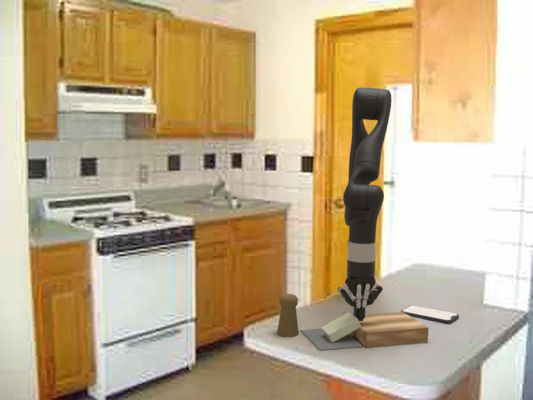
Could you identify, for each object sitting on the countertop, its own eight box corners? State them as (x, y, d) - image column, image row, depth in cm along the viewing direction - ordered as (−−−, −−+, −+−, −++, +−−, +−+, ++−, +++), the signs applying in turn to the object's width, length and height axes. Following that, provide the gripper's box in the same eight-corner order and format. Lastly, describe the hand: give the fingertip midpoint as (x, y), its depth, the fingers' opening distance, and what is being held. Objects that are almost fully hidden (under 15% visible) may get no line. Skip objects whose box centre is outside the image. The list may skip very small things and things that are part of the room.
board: (345, 329, 169) (346, 316, 168) (402, 325, 173) (403, 311, 173) (366, 347, 155) (367, 332, 155) (427, 341, 160) (428, 327, 160)
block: (324, 335, 163) (320, 327, 162) (352, 319, 165) (348, 312, 164) (332, 342, 157) (328, 334, 157) (361, 326, 159) (357, 318, 158)
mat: (300, 331, 166) (300, 330, 166) (340, 328, 170) (340, 327, 170) (319, 350, 152) (319, 349, 152) (362, 347, 155) (362, 345, 155)
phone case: (399, 316, 184) (449, 326, 175) (399, 311, 184) (449, 320, 174) (411, 309, 191) (460, 319, 182) (411, 304, 191) (460, 313, 181)
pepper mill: (291, 338, 161) (292, 299, 159) (273, 334, 164) (273, 295, 163) (302, 332, 166) (303, 294, 165) (283, 328, 169) (284, 290, 168)
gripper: (377, 254, 165) (375, 314, 167) (333, 256, 161) (331, 317, 163) (390, 260, 158) (387, 322, 160) (344, 262, 154) (342, 326, 156)
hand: (359, 320), depth 161 cm, fingers closed
